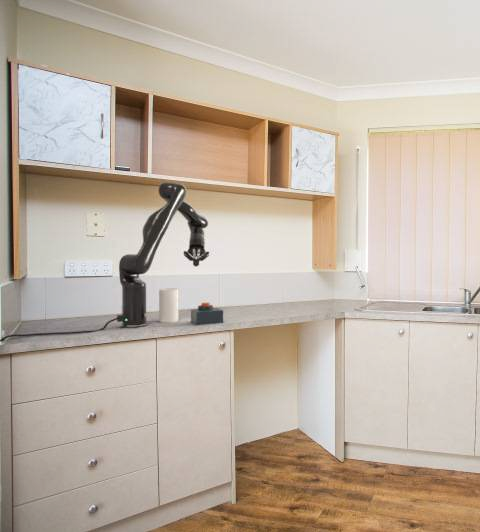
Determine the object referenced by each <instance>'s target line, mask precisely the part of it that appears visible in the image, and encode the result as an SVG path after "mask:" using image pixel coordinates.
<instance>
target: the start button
mask: <svg viewBox="0 0 480 532" xmlns="http://www.w3.org/2000/svg"><path fill="white" fill-rule="evenodd" d="M200 305H201V306H210V305H211V304H210V302H201V304H200Z"/></svg>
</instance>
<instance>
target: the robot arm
mask: <svg viewBox="0 0 480 532" xmlns="http://www.w3.org/2000/svg"><path fill="white" fill-rule="evenodd" d="M158 196H159V197H160V198H161V199H162V200H163V201H165V202H166V204H165V205H163V206H162V207H160V208H159V209H157V210H155V211H154V212H152V213H151V214H150V215H149V216H148V218H147V219H146V221H145V222H144V225H143V226H142V244H141V247H140V249H139V250H138V252H137V253H136V254H130V253H129V254H124V255H123V256H122V257H121V258H120V260H119V263H118V273H119V282H120V285H121V314H116V318H113V319H110V320H108V321H107V322H106V323H105V324H104V326H103V327H102V328H99V329H95V330H80V331H79V330H78V331H61V332H60V331H59V332H38V333H27V334H8V335H6V336H4V337H2V338H1V339H0V342H3V341H4V340H6V339H8V338H12V337H31V336H32V337H34V336H47V335H48V336H51V335H53V336H54V335H70V334H72V335H73V334H84V333H85V334H86V333H95V332H99V331H103V330H105V329H106V328H107V326H108V325H109V324H110V323H112V322H114V321H116V322H117V323H121V327H122V329H125V328H127V329H128V328H140V327H146V326H147V317H148V313H147V283H146V282H145V281H143V280H142V279H141V277H140V275H144V274H146V273H147V272H148V271H149V270H150V268H151V266H152V263H153V261H154V258H155V255H156V252H157V250H158V248H159V246H160V243H162V242H161V241H162V239H163V238H164V236H165V234H166V232H167V230H168V229H169V226H170V224H171V222H172V220H173V218H174V217H175V215H176V213H177V212H179V214H181V215H182V217H183V218H184V219H185V220H186V221H187V227H188V228H189V232H190V234H189V235H190V236H189V242H188V243H189V245H188V249H187V250H184V251H183V256H184V257H185V258H186V259H187V260H188V261H190V262H192V265H193V267H198V266H200V262H203V261H205V260H206V259H207V258H208V257H209V256H210V251H206V249H205V243H206V240H205V230H204V229H206V228H207V227H208V226H209V221H208V218H207V217H206V216H204V215H203V214H201V213H200V212H198V211H197V210H196V209H195V208H194V207H193V206H192V205H191V204H190V203H189V202H187V201H185V199H186V196H187V188H186V186H185V185H183V184H180V183H176V182H175V183H174V182H169V181H166V182H162V183H160V185H159V186H158Z"/></svg>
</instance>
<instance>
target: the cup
mask: <svg viewBox="0 0 480 532" xmlns="http://www.w3.org/2000/svg"><path fill="white" fill-rule="evenodd" d="M178 321H179V288H159V289H158V322H159V323H175V322H178Z"/></svg>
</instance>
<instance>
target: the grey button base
mask: <svg viewBox="0 0 480 532" xmlns="http://www.w3.org/2000/svg"><path fill="white" fill-rule="evenodd" d="M190 323H192V324H194V325H196V326H203V325H214V324H224V309H221V308H218V307H214V305H213V304H210V306H201V304H200V305H198V306H197V308H194V309H190Z"/></svg>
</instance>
